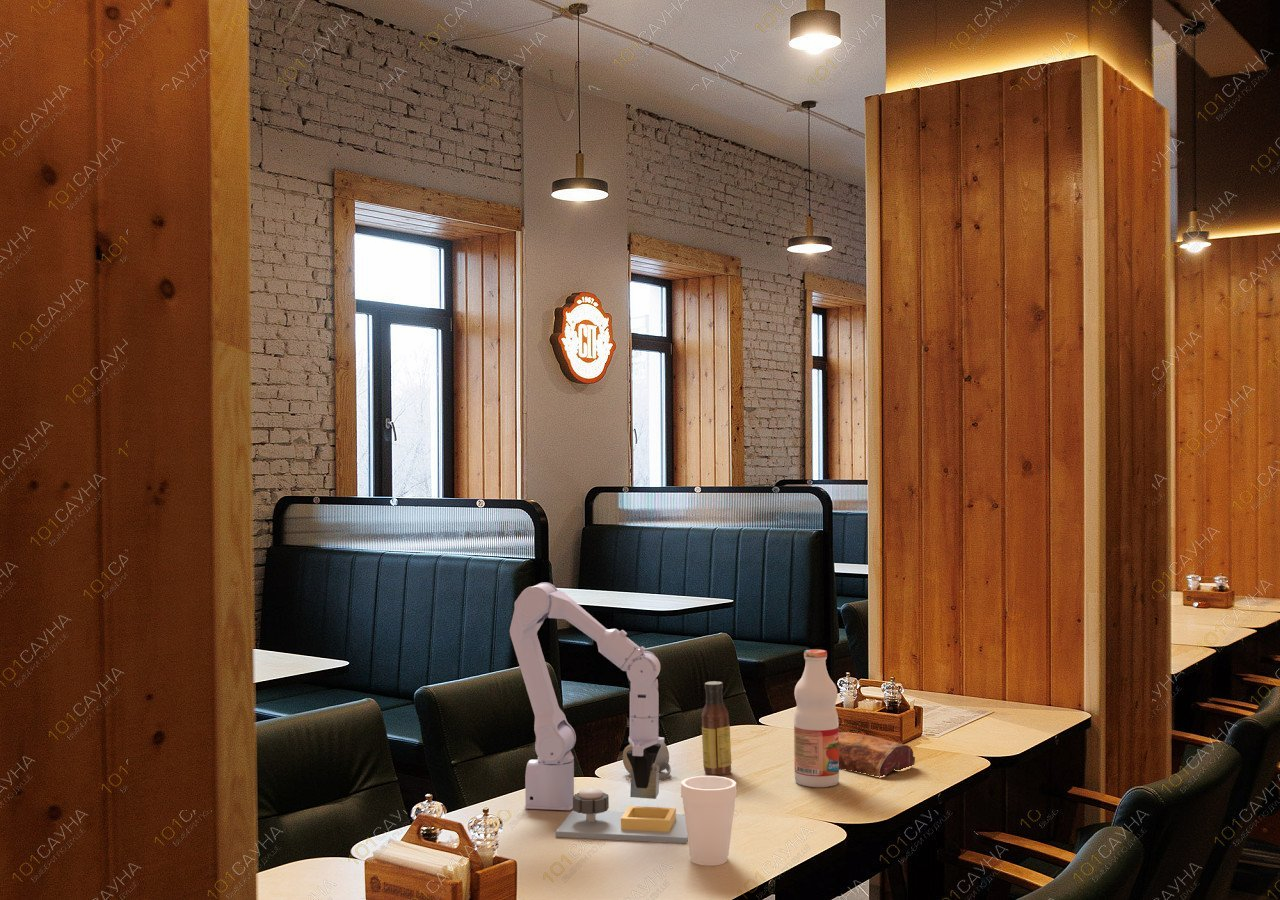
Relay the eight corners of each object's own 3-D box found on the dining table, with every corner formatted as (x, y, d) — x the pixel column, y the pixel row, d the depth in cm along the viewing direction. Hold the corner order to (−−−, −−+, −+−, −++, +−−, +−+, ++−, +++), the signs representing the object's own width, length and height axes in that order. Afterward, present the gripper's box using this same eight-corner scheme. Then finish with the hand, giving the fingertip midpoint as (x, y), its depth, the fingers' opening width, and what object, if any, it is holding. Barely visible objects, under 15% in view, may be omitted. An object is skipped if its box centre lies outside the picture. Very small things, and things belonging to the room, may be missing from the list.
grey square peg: (630, 797, 225) (631, 763, 226) (633, 791, 229) (634, 758, 229) (655, 798, 225) (656, 765, 225) (658, 793, 229) (659, 760, 229)
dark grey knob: (570, 813, 213) (570, 795, 213) (577, 803, 219) (577, 786, 219) (604, 814, 212) (603, 797, 212) (610, 804, 218) (610, 787, 218)
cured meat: (837, 746, 279) (836, 718, 279) (926, 765, 261) (925, 735, 261) (789, 761, 267) (788, 731, 267) (879, 781, 249) (878, 750, 249)
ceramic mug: (619, 773, 254) (620, 738, 254) (646, 767, 260) (646, 733, 260) (652, 783, 246) (653, 747, 247) (679, 776, 252) (680, 741, 252)
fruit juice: (793, 776, 251) (792, 647, 252) (837, 777, 250) (836, 647, 251) (795, 788, 242) (794, 654, 242) (840, 788, 241) (839, 654, 241)
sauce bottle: (731, 769, 257) (731, 680, 258) (731, 776, 251) (730, 685, 252) (702, 768, 258) (701, 679, 258) (701, 776, 252) (700, 684, 252)
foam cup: (703, 847, 203) (703, 772, 203) (747, 857, 197) (746, 781, 198) (670, 861, 196) (670, 784, 196) (715, 872, 190) (714, 793, 190)
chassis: (555, 836, 209) (555, 818, 210) (573, 814, 223) (573, 797, 223) (686, 843, 205) (686, 824, 205) (696, 820, 219) (696, 802, 219)
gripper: (658, 723, 220) (658, 795, 219) (669, 708, 234) (669, 776, 233) (621, 722, 221) (621, 793, 220) (635, 707, 235) (635, 774, 235)
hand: (643, 784), depth 227 cm, fingers closed on grey square peg, 4 cm apart
